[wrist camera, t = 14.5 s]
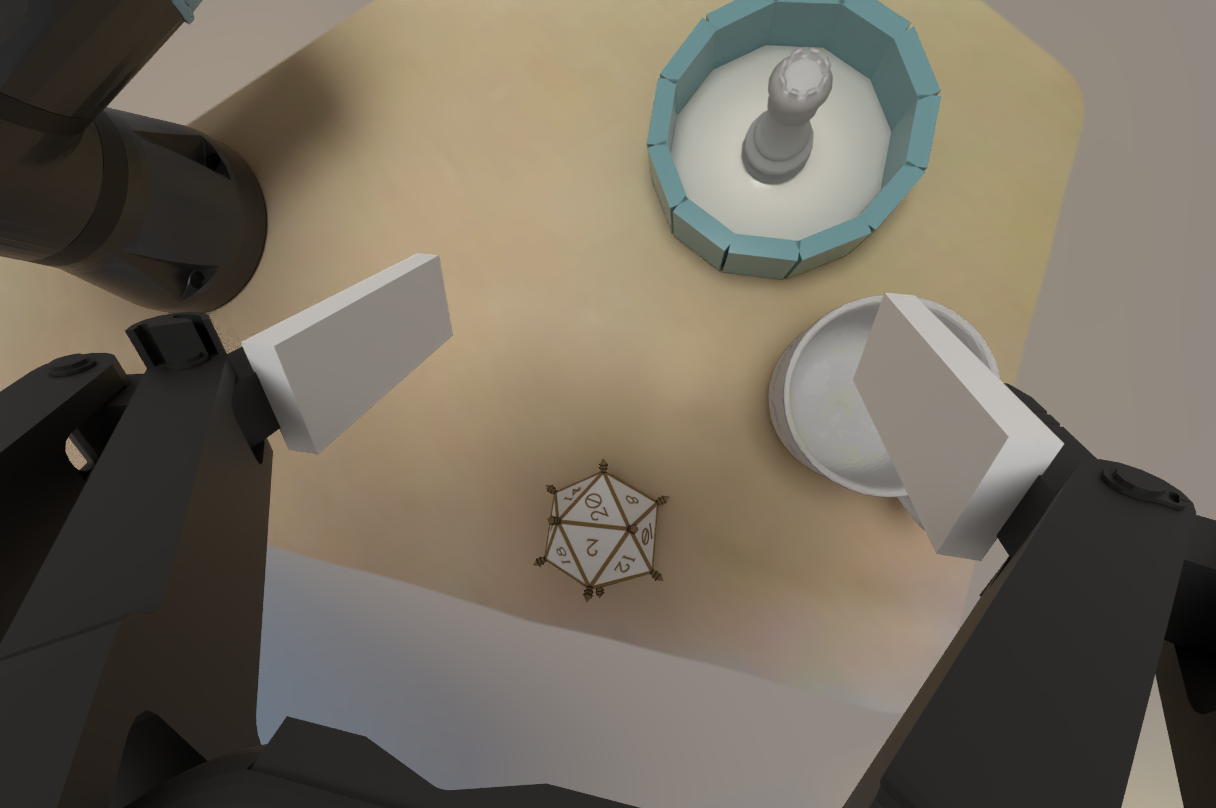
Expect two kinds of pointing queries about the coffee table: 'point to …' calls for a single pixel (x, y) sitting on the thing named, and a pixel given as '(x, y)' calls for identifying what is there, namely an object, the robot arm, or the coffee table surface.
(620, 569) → the game die
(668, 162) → the dish
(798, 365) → the teacup
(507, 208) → the coffee table surface
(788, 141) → the rook chess piece
